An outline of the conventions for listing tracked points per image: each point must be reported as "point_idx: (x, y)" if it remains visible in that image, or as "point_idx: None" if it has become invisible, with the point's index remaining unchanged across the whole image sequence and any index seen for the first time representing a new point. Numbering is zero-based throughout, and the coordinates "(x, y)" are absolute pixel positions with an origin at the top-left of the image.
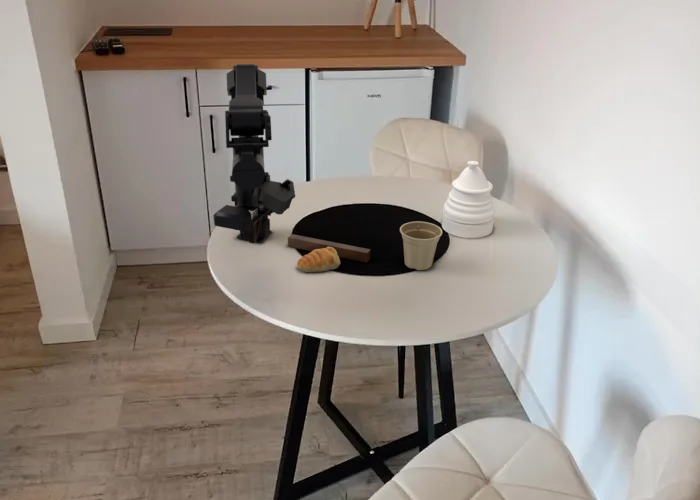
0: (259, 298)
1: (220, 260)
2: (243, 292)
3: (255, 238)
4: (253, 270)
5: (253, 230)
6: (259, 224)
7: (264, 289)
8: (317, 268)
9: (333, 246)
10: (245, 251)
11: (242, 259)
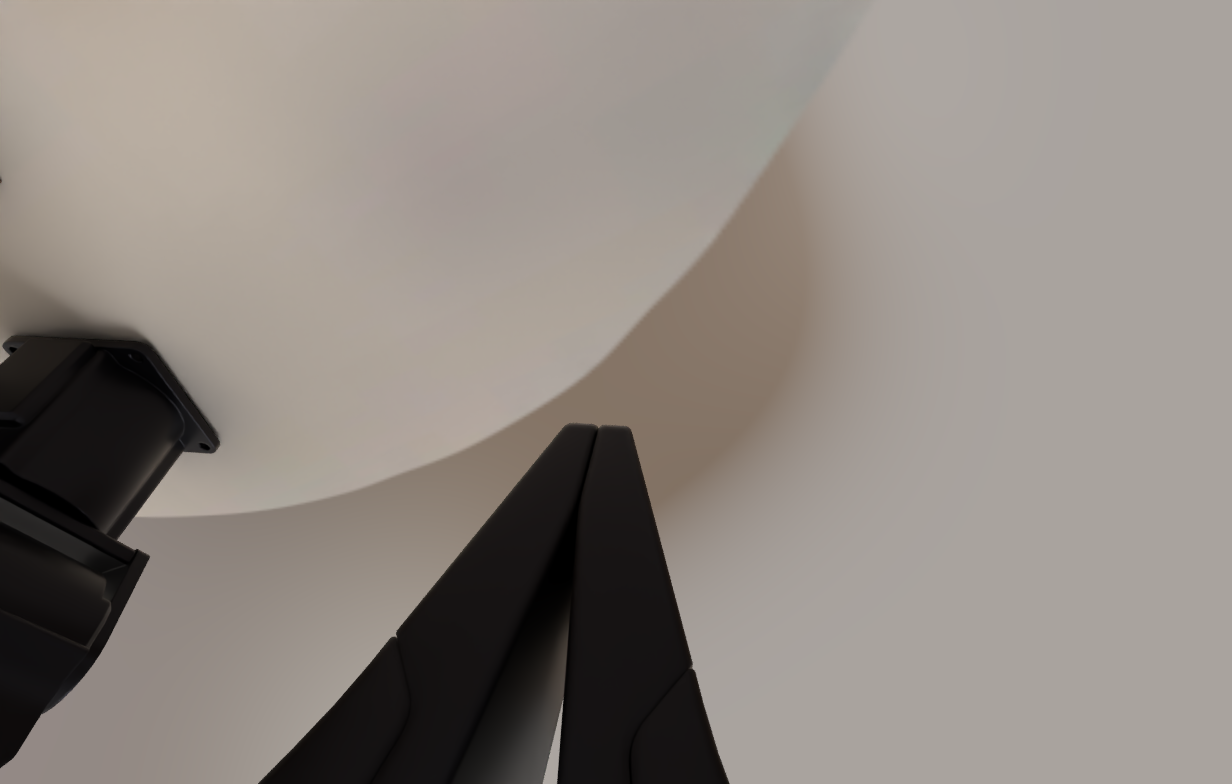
0: (726, 10)
1: (438, 427)
2: (688, 175)
3: (600, 481)
4: (404, 245)
5: (700, 702)
6: (422, 710)
7: (578, 45)
8: None
9: None
10: (275, 368)
11: (351, 348)
